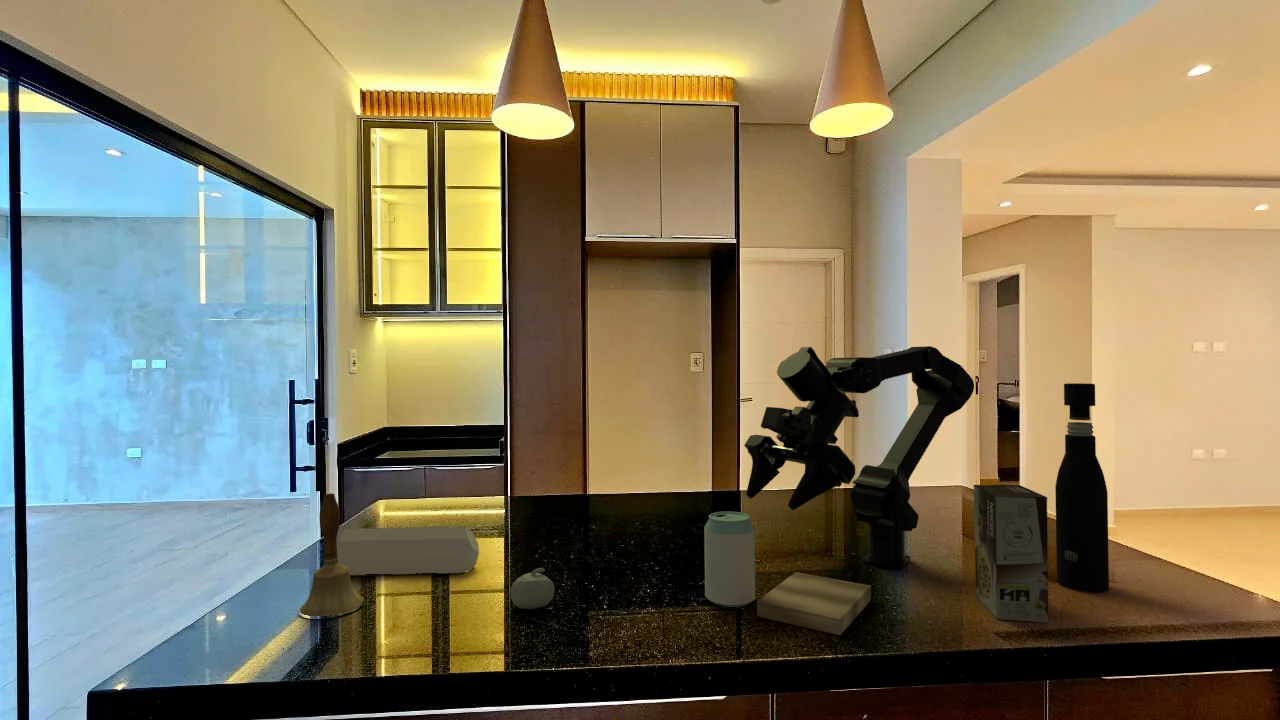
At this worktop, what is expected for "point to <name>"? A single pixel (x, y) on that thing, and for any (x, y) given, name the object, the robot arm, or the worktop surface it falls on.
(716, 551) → the can
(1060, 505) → the black bottle
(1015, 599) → the coffee box
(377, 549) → the crystal
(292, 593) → the worktop surface
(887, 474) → the robot arm
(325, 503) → the hand bell
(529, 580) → the grey pumpkin
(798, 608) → the beige wooden slab
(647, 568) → the worktop surface
